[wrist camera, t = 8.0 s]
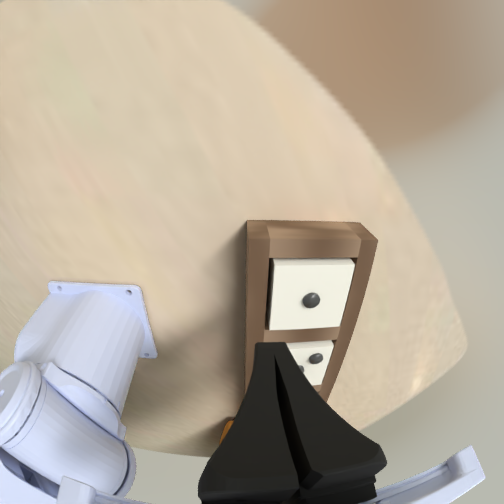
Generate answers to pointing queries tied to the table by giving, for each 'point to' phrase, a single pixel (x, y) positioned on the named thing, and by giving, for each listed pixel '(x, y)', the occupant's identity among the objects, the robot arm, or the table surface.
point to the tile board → (304, 246)
